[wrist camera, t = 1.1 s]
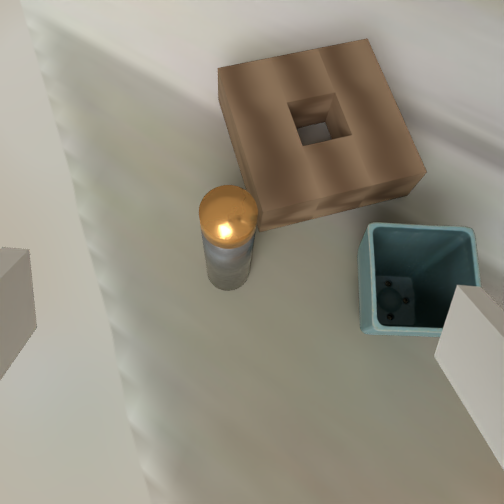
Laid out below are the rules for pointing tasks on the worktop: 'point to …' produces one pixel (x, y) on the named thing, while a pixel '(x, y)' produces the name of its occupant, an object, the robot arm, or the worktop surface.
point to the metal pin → (228, 234)
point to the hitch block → (323, 153)
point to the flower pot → (413, 276)
